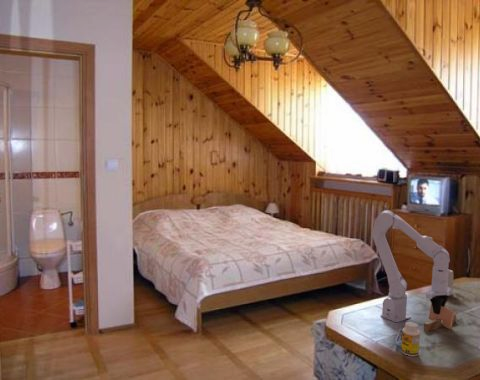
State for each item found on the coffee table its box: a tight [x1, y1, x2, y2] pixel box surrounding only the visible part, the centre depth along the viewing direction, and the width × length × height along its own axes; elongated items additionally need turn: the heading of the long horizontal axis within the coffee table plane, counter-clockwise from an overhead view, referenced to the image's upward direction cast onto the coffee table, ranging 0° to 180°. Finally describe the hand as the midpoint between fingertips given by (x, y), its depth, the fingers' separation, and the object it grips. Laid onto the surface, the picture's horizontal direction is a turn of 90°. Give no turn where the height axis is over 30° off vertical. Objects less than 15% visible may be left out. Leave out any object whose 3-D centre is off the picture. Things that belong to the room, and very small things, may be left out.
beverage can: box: [447, 269, 454, 297], centre depth 210 cm, size 6×6×12 cm
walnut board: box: [423, 313, 457, 333], centre depth 172 cm, size 20×1×3 cm, turn 124°
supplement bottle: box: [400, 321, 421, 357], centre depth 148 cm, size 6×6×10 cm
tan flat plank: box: [428, 303, 456, 330], centre depth 173 cm, size 9×1×7 cm, turn 34°
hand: (437, 313), depth 174 cm, fingers closed on tan flat plank, 1 cm apart
